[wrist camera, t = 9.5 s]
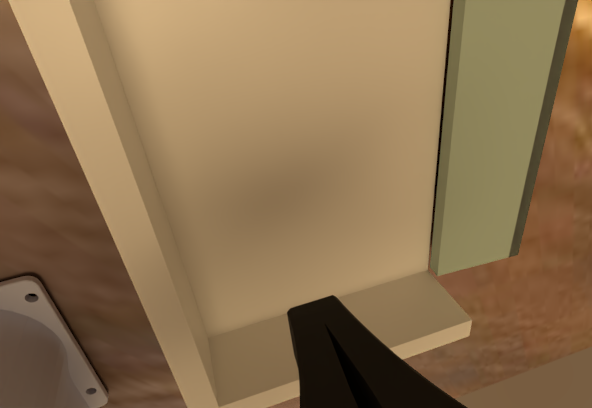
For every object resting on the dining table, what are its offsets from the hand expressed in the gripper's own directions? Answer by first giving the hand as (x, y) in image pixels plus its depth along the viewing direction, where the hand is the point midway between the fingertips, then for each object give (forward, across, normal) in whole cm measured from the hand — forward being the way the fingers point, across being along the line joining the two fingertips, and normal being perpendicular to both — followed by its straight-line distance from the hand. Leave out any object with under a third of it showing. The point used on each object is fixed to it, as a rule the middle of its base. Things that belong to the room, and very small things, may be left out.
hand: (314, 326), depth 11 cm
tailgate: (+8, -9, -2) cm, 12 cm away
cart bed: (+9, -2, -2) cm, 10 cm away
